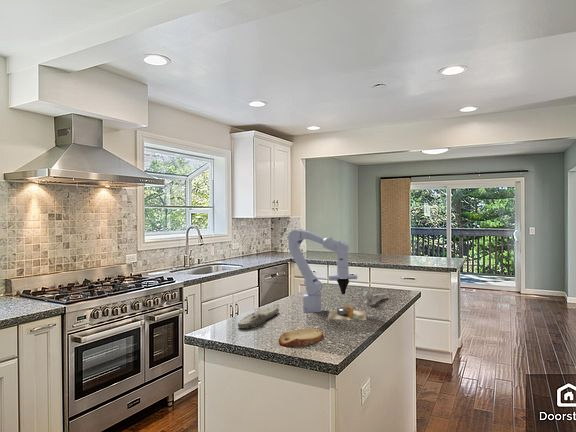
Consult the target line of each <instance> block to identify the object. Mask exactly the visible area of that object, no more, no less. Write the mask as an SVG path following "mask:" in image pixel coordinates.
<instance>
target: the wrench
mask: <svg viewBox="0 0 576 432" xmlns="http://www.w3.org/2000/svg"><path fill="white" fill-rule="evenodd" d="M387 297H388V295H387V293H379V294H378V293H376V294H371V293H370V291H363V294H362V298H365V300H364V302H363V304H364V305H366V306H367V307H370V306H371V304H372V303H373V301H379V300H386V299H387ZM385 298H386V299H385Z"/></svg>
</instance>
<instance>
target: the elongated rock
mask: <svg viewBox="0 0 576 432" xmlns="http://www.w3.org/2000/svg"><path fill="white" fill-rule="evenodd" d="M279 312H280V310H279V308H278V307H275V306H271V307H265V308H264V309H261V310H259V311H257V312H252V313H250V314H247V315H246V316H244V317H243V318H242V319H240V320H239V321H238V323H237V327H238V329H248V330H249V329H251V328H256V327H257V326H259V325H260V326H261V325H262V324H263V323H264V322H266V321H267V320H268V319H271V318H272V317H275V316H276V315H277V314H279Z"/></svg>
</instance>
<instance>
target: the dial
mask: <svg viewBox="0 0 576 432" xmlns="http://www.w3.org/2000/svg"><path fill="white" fill-rule="evenodd" d="M336 310H337V314H338V315H343V316H348V317H350V318H353V310H354V307H352V306H351V305H349V304H344V306H343V307H342V306H341V307H340V306H339V307H337V308H336Z"/></svg>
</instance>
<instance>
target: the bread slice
mask: <svg viewBox="0 0 576 432" xmlns="http://www.w3.org/2000/svg"><path fill="white" fill-rule="evenodd" d="M323 339H324V334H323V331H321V330H319V329H318V328H314V327H312V328H302V329H296V330H292V331H285V332H283V333H282V334H281V335H280V336H279V338H278V340H277V341H278V345H279V346H280V347H286V348H291V347H292V346H298V347H305V346H309V345H312V344H316V343H317V342H320V341H322V340H323Z"/></svg>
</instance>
